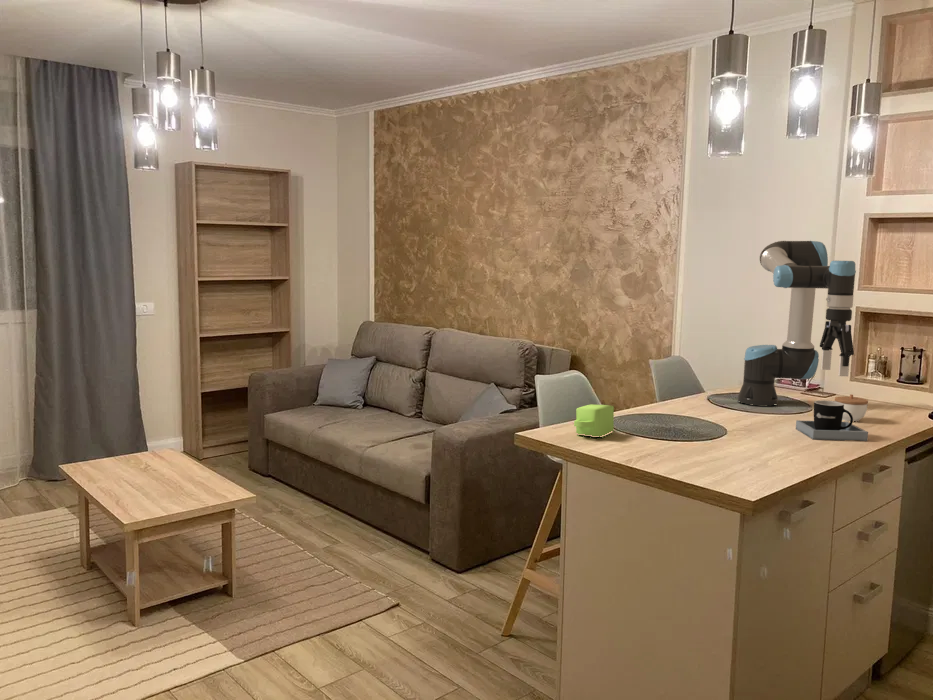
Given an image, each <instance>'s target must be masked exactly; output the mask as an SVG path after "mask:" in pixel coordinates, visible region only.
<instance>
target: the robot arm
mask: <svg viewBox="0 0 933 700" xmlns="http://www.w3.org/2000/svg"><path fill="white" fill-rule="evenodd" d="M759 262H760V266H762V268H763V269H764V270H766V271H767V272H771V273H772V274H773V275H772V277H773V278H772V279H773V285H774V287H776V288H783V289H791V291H790V301H789V303H790V304H789V311H788V313H789V314H788V324H787V335H786V336H787V337H786V340H785V342H783V343H782V345H781V348H778V346H777V345H775V344H757V345H752V346H748V347H747V348H746V350H745V354H744V358H743V360H744V362H743V363H744V365H743V383H742V385H741V387H740V390H739V392H738V395H737V402H738V401H740V402H742V403H746V404H753V405H774V404H777V403H778V404H779V398H778V394H777V391H776V387H775V381H776V380H775V379H790V380H791V379H792V380H794V379H795V380H810V379H812V378H813V377H814V376H815V374H816V373H817V370H818V367H819V361H820V359H819V356H820V355H819V351H818V350H817V349H815V345H814V344H813V343H812V342H811V341H812V332H813V320H814V319H813V318H814V309H815V299H816V298H815V297H816V289H827V297H826V298H825V301H826V306H827V307H828V308H826V309H825V320H828V321H825V322H824V323H825V324H824V329H823V332H822V336H821V339H820V343H819V348H821V351H822V354H821V363H820V364H821V366H820V367H821V369H820V370H821V371H823V370H824V371H830V370H831V364H832V352H833V348H832V346H833V345H834V343H835V341H836V340H837V342H838V346H839V351H840V354H839V362H838V363H839V365H838V377H849V371H850V358H851V356H853V355H855V350H854V344H853V338H852V325H851V324H847V322H850V321H852V317H853V310H852V309H851V308H853V306H854V289H855V281H856V280H855V279H856V273H857V270H856V262H855V260H831V261H830V263H829V257H828V250H827V247H826V245H825V244H824V243H823V242H821V241H816V240H778V241H774V242H772V243H770V244H768V245H767V246H765V247H764V248H763V249H762V250H761V252H760V255H759ZM828 263H829V264H828ZM742 403H741V404H742ZM746 404H745V405H746Z"/></svg>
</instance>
